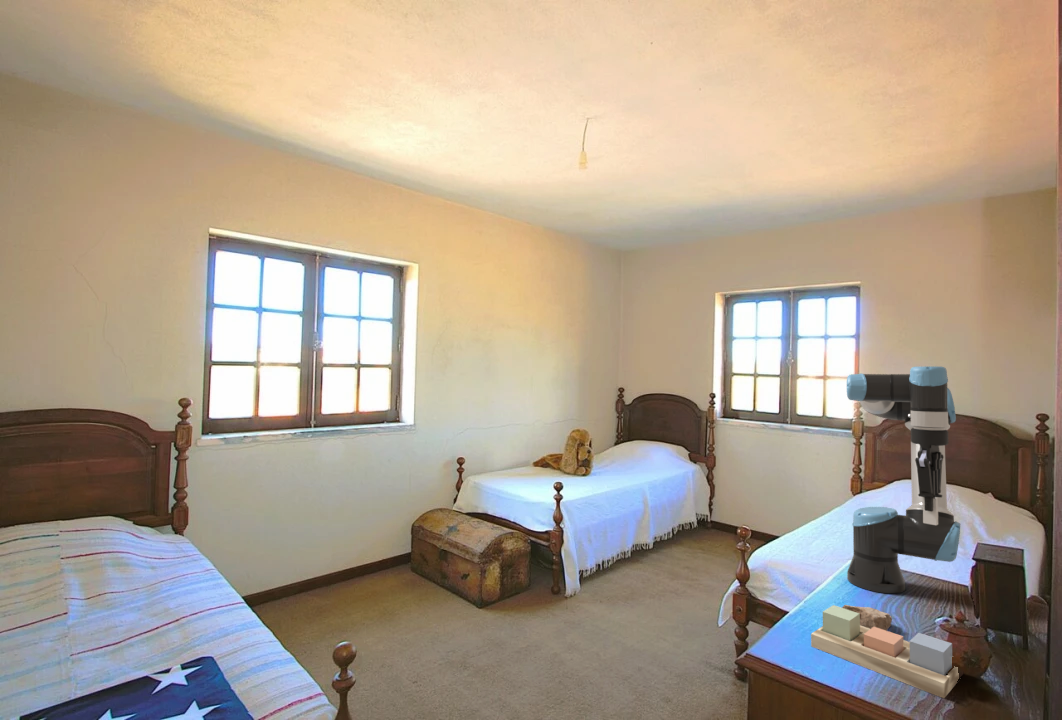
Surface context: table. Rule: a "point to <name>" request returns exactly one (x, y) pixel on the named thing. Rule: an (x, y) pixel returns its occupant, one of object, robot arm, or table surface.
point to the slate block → (931, 653)
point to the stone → (871, 617)
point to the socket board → (885, 662)
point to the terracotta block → (884, 641)
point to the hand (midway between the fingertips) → (930, 523)
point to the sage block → (841, 622)
